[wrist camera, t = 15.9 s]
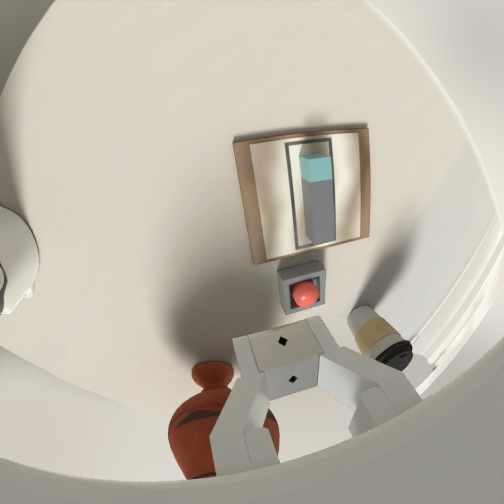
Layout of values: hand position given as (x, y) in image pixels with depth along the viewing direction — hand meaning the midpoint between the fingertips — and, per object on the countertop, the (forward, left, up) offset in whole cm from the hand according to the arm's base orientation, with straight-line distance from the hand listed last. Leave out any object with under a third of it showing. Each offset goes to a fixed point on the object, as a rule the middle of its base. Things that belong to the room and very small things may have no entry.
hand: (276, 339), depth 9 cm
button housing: (+10, -21, -29) cm, 37 cm away
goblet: (-9, -39, -29) cm, 49 cm away
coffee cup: (+23, -34, -29) cm, 50 cm away
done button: (+10, -21, -28) cm, 36 cm away
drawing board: (+13, -6, -29) cm, 33 cm away
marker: (+13, -6, -28) cm, 32 cm away
